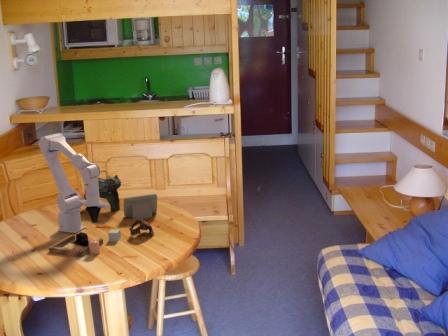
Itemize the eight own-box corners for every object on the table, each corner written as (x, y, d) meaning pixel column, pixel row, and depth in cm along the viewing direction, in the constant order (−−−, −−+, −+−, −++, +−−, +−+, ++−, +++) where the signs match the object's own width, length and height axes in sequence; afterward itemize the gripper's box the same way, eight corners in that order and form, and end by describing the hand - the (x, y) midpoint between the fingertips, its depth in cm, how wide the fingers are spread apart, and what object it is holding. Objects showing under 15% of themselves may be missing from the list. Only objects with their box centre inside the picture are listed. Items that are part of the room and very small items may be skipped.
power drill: (124, 209, 277) (120, 170, 272) (117, 213, 271) (113, 173, 266) (90, 205, 284) (86, 167, 279) (82, 209, 278) (78, 171, 273)
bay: (49, 251, 228) (48, 247, 227) (72, 238, 241) (72, 234, 240) (81, 257, 221) (80, 252, 221) (103, 243, 235) (102, 238, 234)
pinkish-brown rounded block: (87, 254, 224) (86, 243, 222) (93, 250, 227) (92, 239, 226) (96, 256, 222) (94, 244, 221) (102, 252, 226) (100, 240, 224)
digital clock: (158, 211, 271) (156, 191, 268) (158, 218, 262) (157, 196, 260) (124, 214, 269) (122, 193, 266) (123, 220, 261) (122, 199, 258)
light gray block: (109, 241, 237) (108, 232, 235) (112, 238, 240) (111, 229, 239) (118, 241, 236) (117, 232, 235) (121, 238, 240) (120, 229, 239)
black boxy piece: (66, 244, 237) (64, 234, 235) (78, 238, 242) (77, 228, 241) (87, 249, 230) (86, 239, 229) (99, 243, 236) (98, 233, 235)
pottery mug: (154, 240, 238) (143, 226, 234) (136, 248, 240) (125, 235, 237) (157, 223, 248) (147, 210, 245) (139, 231, 250) (129, 218, 247)
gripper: (72, 193, 238) (75, 223, 241) (100, 197, 232) (103, 227, 235) (82, 188, 244) (85, 217, 247) (110, 192, 238) (112, 221, 242)
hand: (94, 222), depth 242 cm, fingers closed
